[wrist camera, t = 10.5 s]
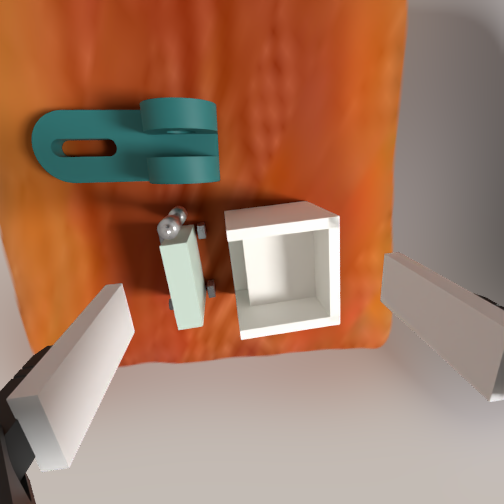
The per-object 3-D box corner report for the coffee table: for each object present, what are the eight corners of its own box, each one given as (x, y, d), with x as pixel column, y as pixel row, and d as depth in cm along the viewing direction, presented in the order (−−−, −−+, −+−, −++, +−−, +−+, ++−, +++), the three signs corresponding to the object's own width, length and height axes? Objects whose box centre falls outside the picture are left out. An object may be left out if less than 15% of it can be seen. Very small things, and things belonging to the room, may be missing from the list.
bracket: (216, 113, 30) (215, 97, 23) (219, 177, 32) (220, 182, 25) (37, 113, 29) (-26, 97, 21) (53, 182, 31) (0, 189, 23)
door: (164, 228, 33) (148, 247, 26) (193, 224, 34) (186, 242, 26) (179, 296, 36) (168, 331, 29) (206, 291, 36) (202, 326, 29)
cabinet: (224, 211, 33) (226, 230, 24) (306, 200, 34) (339, 216, 25) (235, 294, 37) (241, 339, 27) (309, 283, 38) (340, 324, 28)
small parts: (157, 207, 32) (131, 226, 23) (201, 201, 33) (194, 218, 23) (175, 295, 36) (160, 343, 27) (215, 289, 36) (214, 335, 27)
